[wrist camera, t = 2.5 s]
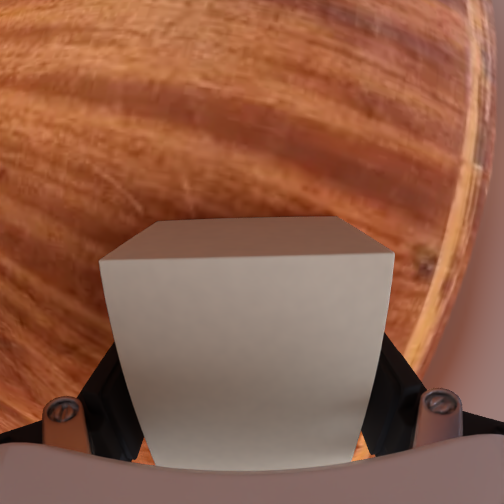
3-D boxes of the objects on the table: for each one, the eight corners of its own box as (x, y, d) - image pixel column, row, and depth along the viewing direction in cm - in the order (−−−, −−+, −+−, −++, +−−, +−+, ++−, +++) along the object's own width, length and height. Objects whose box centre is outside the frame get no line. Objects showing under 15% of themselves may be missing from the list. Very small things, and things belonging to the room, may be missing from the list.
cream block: (190, 433, 13) (176, 510, 8) (156, 220, 10) (97, 260, 6) (317, 430, 13) (334, 506, 8) (337, 216, 10) (395, 252, 6)
